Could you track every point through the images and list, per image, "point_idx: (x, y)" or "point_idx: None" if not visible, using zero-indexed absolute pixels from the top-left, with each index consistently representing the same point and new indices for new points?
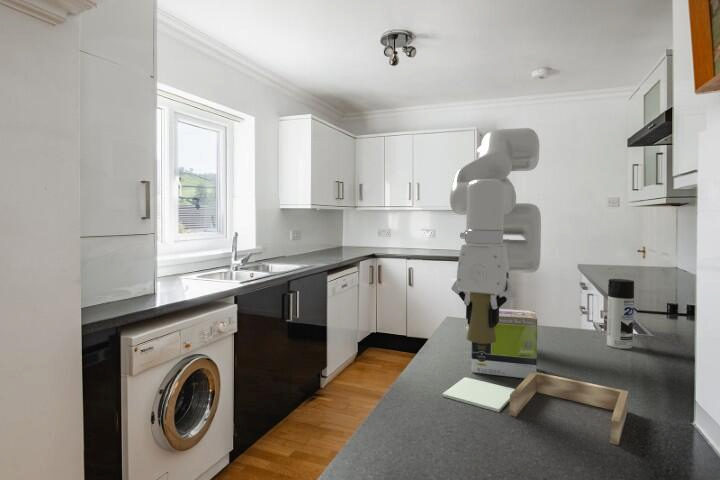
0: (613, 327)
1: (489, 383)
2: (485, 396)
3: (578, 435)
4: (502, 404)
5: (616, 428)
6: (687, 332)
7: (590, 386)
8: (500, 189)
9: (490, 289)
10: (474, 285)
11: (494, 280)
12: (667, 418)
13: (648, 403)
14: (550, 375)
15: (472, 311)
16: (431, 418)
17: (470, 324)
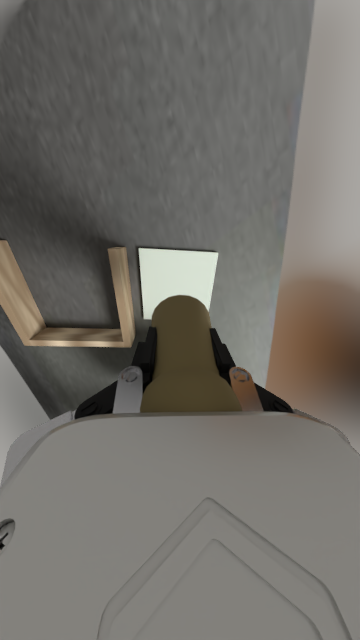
0: None
1: None
2: (166, 278)
3: (40, 239)
4: (141, 266)
5: None
6: None
7: (62, 339)
8: None
9: (107, 448)
10: (234, 466)
11: (13, 599)
12: (11, 336)
13: (40, 358)
14: (108, 345)
15: (208, 349)
16: (210, 157)
17: (205, 323)
